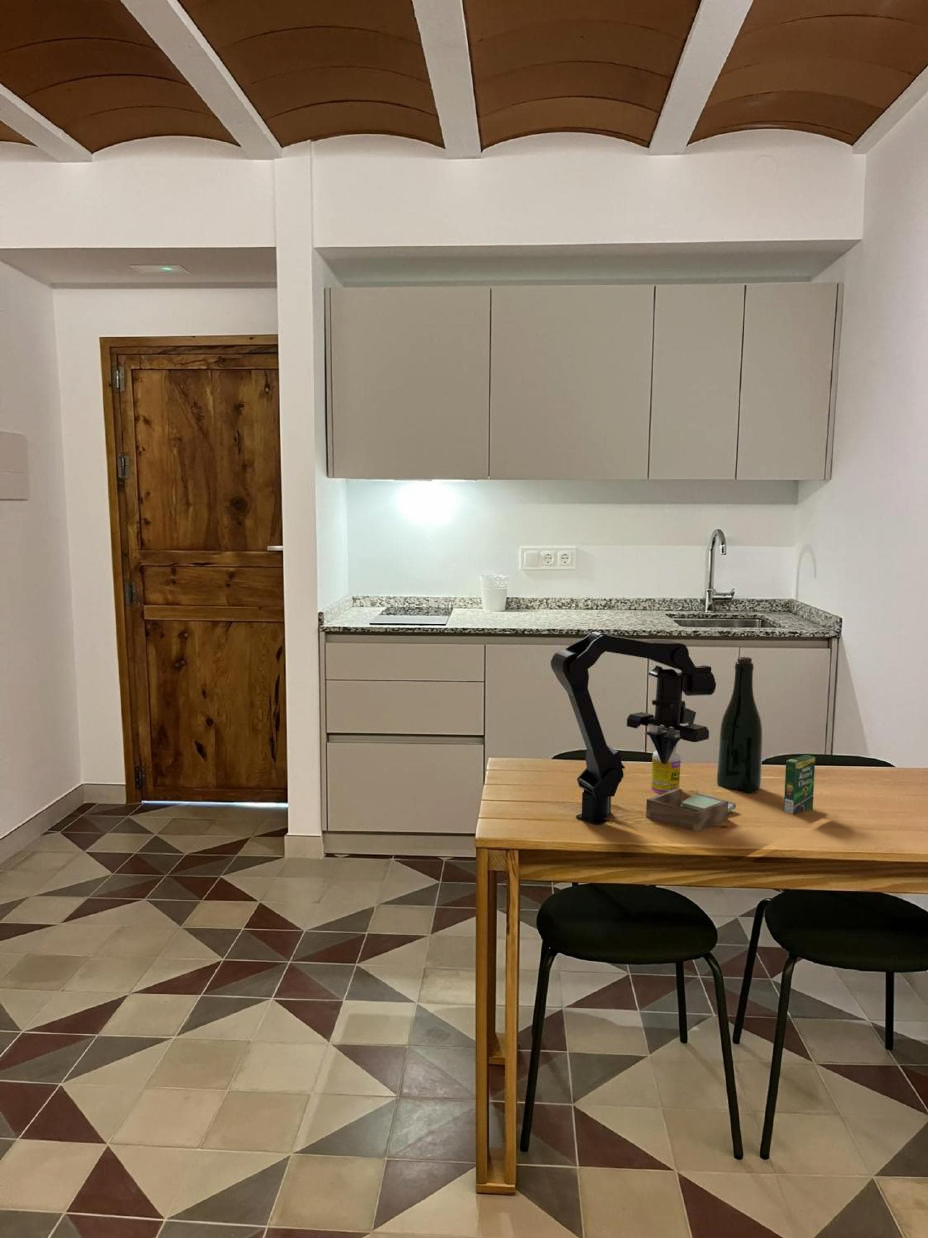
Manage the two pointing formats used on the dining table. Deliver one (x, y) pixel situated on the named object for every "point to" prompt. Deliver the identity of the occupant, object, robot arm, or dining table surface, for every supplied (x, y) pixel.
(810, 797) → the coffee box
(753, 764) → the green wine bottle
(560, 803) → the dining table surface
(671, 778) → the supplement bottle
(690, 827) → the brown hollow box
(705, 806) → the green grey flat panel
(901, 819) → the dining table surface
